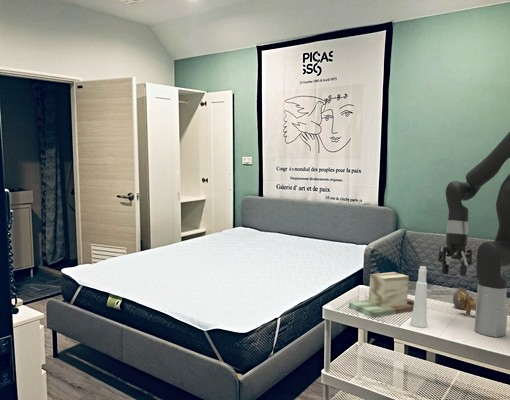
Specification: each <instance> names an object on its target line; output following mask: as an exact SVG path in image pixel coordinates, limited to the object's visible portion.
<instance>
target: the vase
mask: <svg viewBox="0 0 510 400" xmlns="http://www.w3.org/2000/svg"><path fill="white" fill-rule="evenodd" d="M461 292H462V293H465V294H467V295H468V296H470V294H469V292H468V291H467V289H466V288H465V287H459V288H458V290H456V291H455V292H454V294H453V296H452V303H453V305H454V307H455V308H456V309H458V310H466V308H464V307H462V305H461V304H460V303H459V302H458V300H457V298H458V293H461Z"/></svg>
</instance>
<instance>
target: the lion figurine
mask: <svg viewBox="0 0 510 400" xmlns="http://www.w3.org/2000/svg"><path fill="white" fill-rule="evenodd" d="M457 300H458V302H459V303H460V304H461V305H462V307H464V308H466V309H465V314H464V316H465V317H468V316H469V315H471V310H472V311H475V312H476V302H477V301H476V300H474V298H473V297H472V296H470V295H469V296H468V295H467V294H465V293H462V292H461V293H458V298H457Z"/></svg>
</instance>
